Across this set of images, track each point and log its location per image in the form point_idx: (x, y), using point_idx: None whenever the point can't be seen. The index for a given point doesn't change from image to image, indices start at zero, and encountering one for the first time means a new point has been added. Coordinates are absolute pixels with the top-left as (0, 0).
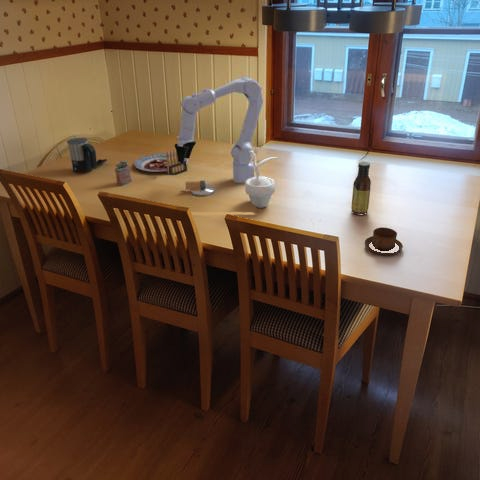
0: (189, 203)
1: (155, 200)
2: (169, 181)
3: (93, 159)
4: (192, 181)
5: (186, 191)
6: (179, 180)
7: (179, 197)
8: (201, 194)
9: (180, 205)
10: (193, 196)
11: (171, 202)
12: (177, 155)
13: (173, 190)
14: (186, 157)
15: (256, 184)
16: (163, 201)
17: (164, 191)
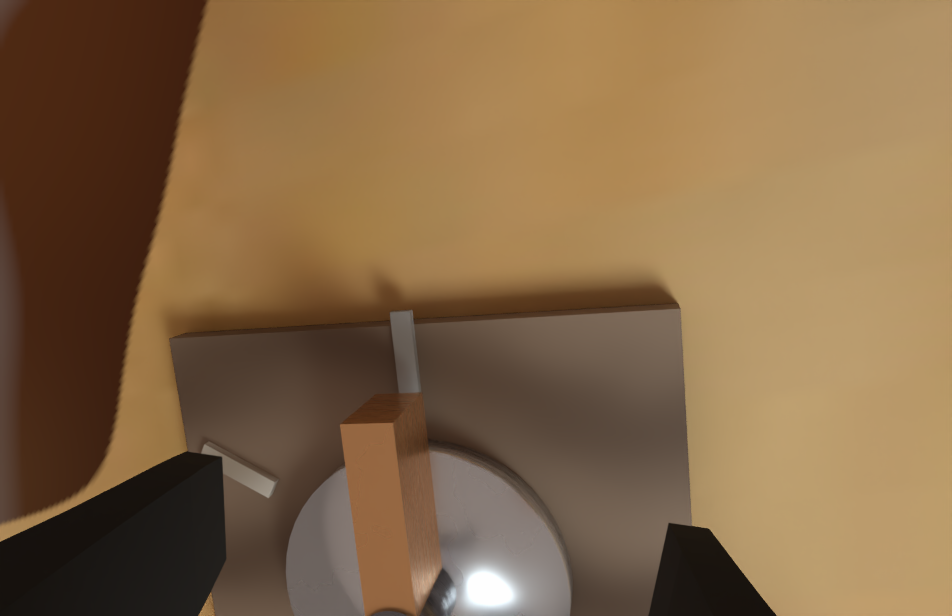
0: (185, 442)
1: (203, 52)
2: (872, 46)
3: None
4: (400, 516)
5: (398, 389)
6: (916, 193)
7: (316, 312)
8: (294, 576)
9: (127, 360)
10: (265, 487)
11: (180, 251)
12: (38, 528)
13: (518, 193)
14: (661, 588)
15: None
16: (191, 155)
17: (477, 82)
